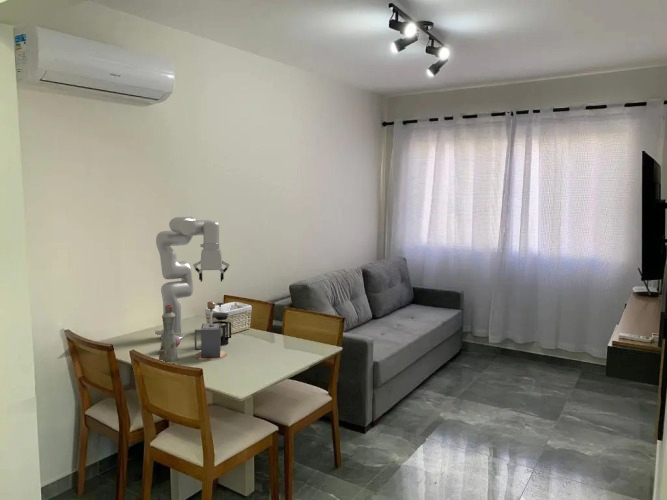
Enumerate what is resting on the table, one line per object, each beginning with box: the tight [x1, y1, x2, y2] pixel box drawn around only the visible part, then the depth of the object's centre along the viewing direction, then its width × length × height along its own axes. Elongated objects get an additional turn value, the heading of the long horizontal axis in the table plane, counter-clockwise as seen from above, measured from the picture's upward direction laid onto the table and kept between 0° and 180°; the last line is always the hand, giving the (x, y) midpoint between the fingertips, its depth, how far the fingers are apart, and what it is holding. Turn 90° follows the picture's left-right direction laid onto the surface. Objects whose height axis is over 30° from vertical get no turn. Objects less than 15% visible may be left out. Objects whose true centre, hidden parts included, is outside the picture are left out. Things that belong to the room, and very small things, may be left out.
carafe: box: [194, 323, 222, 358], centre depth 253 cm, size 12×9×15 cm
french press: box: [212, 302, 232, 347], centre depth 272 cm, size 12×9×23 cm
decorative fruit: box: [174, 333, 181, 349], centre depth 261 cm, size 9×8×10 cm
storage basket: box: [204, 301, 253, 336], centre depth 300 cm, size 24×16×15 cm
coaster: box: [194, 350, 228, 362], centre depth 254 cm, size 16×16×1 cm
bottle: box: [158, 305, 179, 363], centre depth 245 cm, size 9×9×28 cm
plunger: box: [206, 301, 216, 327], centre depth 252 cm, size 6×6×19 cm
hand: (211, 281), depth 250 cm, fingers open, 9 cm apart
